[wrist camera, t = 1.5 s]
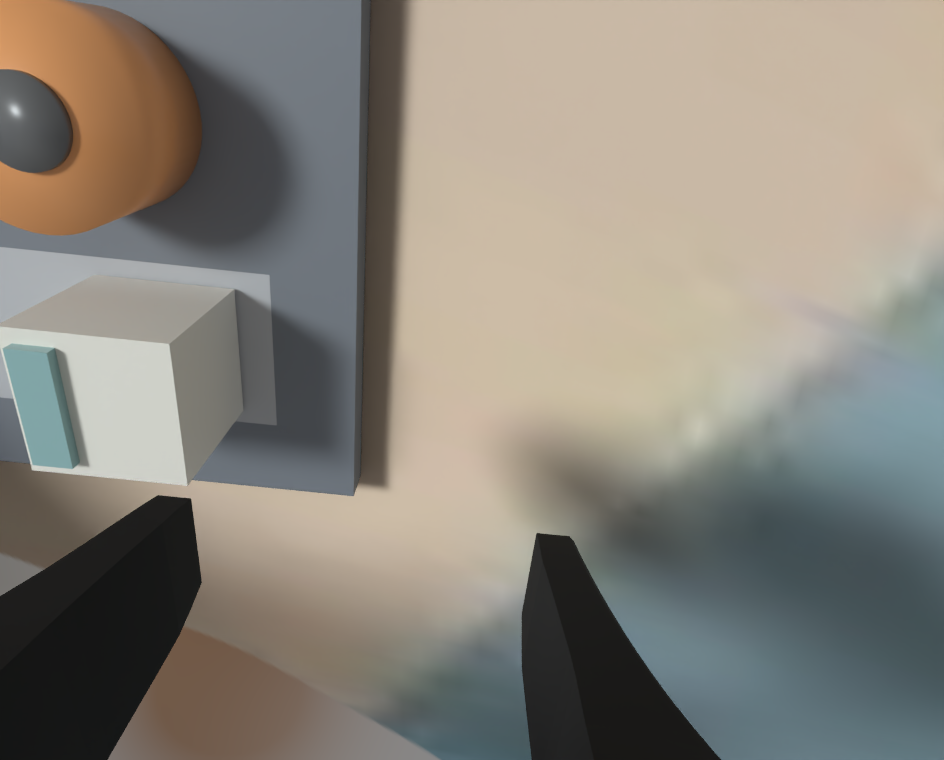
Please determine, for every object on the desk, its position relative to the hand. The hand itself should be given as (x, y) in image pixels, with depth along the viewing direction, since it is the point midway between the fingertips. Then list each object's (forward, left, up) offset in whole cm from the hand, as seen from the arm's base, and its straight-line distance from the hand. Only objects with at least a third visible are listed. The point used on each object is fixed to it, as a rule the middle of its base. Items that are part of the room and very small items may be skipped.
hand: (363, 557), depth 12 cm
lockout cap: (-8, +6, -8) cm, 13 cm away
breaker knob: (-7, 0, -8) cm, 11 cm away
